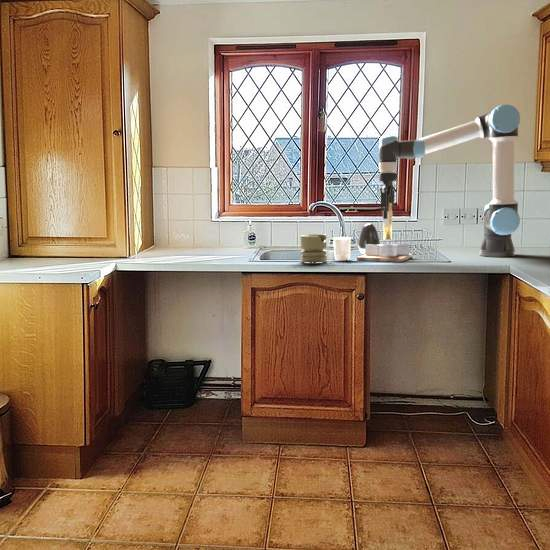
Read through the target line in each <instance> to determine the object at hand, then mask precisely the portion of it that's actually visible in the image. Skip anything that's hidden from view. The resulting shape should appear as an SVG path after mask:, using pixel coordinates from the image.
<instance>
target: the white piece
mask: <svg viewBox="0 0 550 550" xmlns="http://www.w3.org/2000/svg"><path fill="white" fill-rule="evenodd" d="M409 254H410V243H398V244H397V243H382V244H381V243H380V245H371V244H366V256H378V257H397V256H400V255H409Z"/></svg>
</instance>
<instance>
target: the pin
mask: <svg viewBox="0 0 550 550" xmlns="http://www.w3.org/2000/svg"><path fill="white" fill-rule="evenodd" d="M388 211H389V226H383V225H382V228H383V229H382V230H383V231H382V233H383V237H382V239H383V240H392V239H393V238H392V233H393V232H392V230H393V229H392V226H393V211H392V203H389V210H388Z"/></svg>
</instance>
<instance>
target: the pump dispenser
mask: <svg viewBox="0 0 550 550" xmlns="http://www.w3.org/2000/svg"><path fill="white" fill-rule="evenodd" d="M366 244H371V245H380V244H381V243H380V238H379V233H378V230H377V228H376V227H375V225H374V224H373V223H371V222H369V223H368V222H367V223H365V224H364V225H363V227H362V228H361V231H360V235H359V239H358V245H357V247H358V251H359V253H360V254H361V255H365V254H366Z"/></svg>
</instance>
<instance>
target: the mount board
mask: <svg viewBox="0 0 550 550" xmlns="http://www.w3.org/2000/svg"><path fill="white" fill-rule="evenodd" d="M412 256H413V255H412V254H411V253H409V255H400V256H397V257H378V256H366V254H365V255H363V254H361V255H360V256H359V255H358V256H357V257H356V261H358V260H368V261H367V262H386V261H391V263H393V262H395V263H402V262H405V261H406V260H410V259H412Z"/></svg>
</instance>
